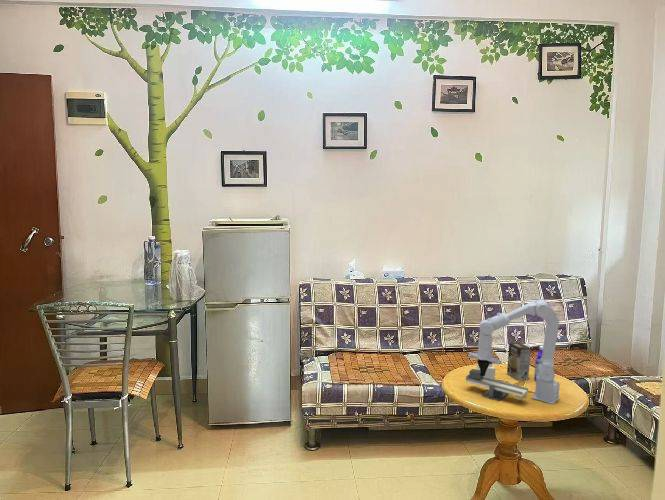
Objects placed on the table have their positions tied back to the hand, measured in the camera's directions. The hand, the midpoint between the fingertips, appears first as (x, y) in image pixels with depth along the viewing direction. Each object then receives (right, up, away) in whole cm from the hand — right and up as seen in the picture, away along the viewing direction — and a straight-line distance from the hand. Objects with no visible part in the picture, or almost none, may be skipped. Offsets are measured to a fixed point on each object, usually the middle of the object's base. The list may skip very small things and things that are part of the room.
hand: (483, 375), depth 241 cm
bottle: (+32, -7, +15) cm, 36 cm away
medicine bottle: (+5, -6, +16) cm, 18 cm away
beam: (+5, -6, -3) cm, 8 cm away
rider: (-3, -2, +2) cm, 4 cm away
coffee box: (+23, -6, +21) cm, 31 cm away
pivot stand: (+5, -8, -3) cm, 10 cm away
